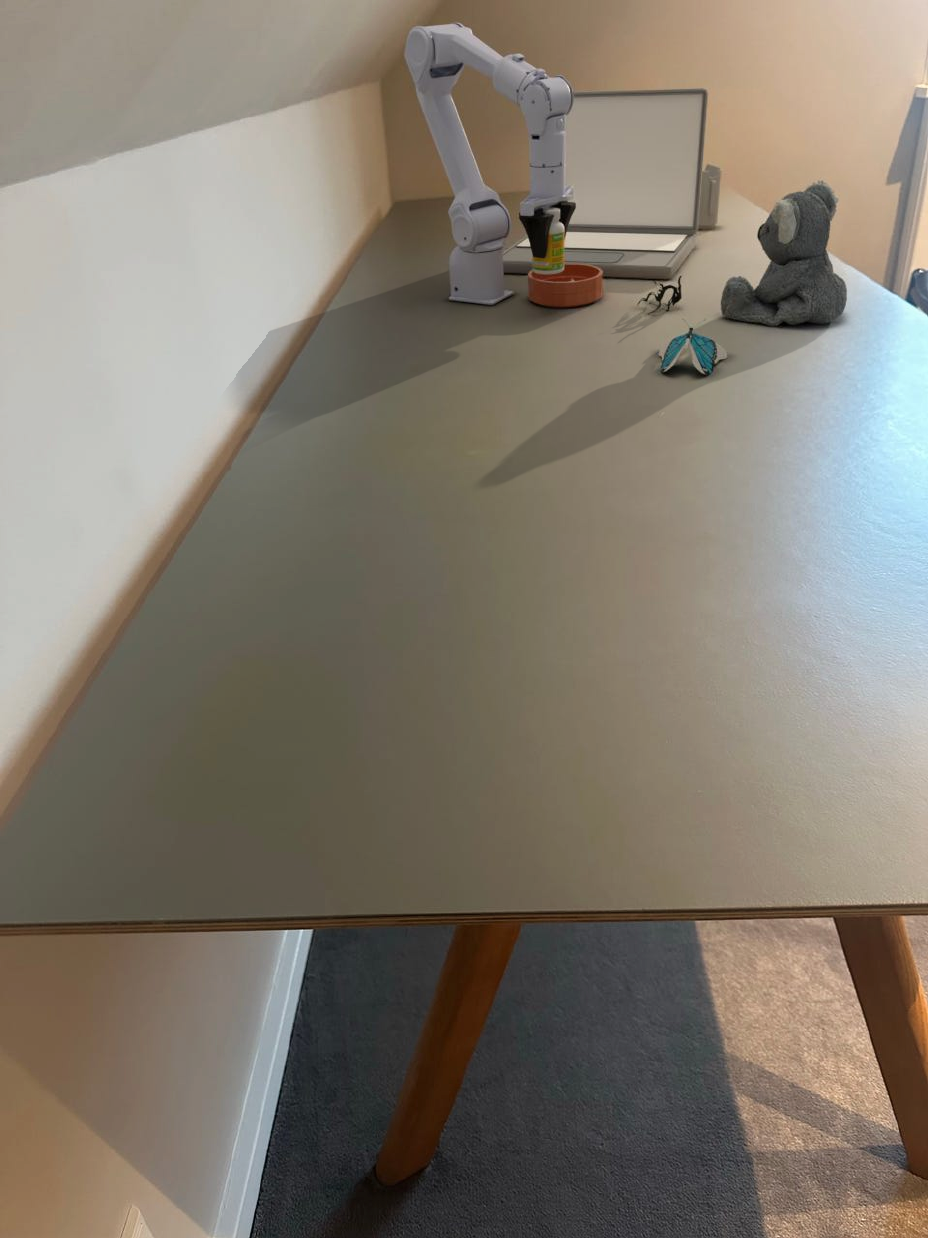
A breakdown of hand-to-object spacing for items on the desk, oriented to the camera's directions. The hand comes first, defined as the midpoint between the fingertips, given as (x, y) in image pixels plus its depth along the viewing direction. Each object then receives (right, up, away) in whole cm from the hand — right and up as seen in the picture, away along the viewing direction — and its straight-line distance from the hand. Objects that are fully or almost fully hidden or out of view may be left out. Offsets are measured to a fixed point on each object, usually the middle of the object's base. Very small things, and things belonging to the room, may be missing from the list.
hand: (547, 253), depth 158 cm
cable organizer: (+39, +28, +55) cm, 72 cm away
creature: (+19, -8, +4) cm, 21 cm away
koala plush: (+39, -12, -3) cm, 41 cm away
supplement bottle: (0, -3, +2) cm, 3 cm away
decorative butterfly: (+19, -25, -20) cm, 37 cm away
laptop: (+13, +12, +34) cm, 38 cm away
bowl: (+4, -3, +12) cm, 13 cm away
